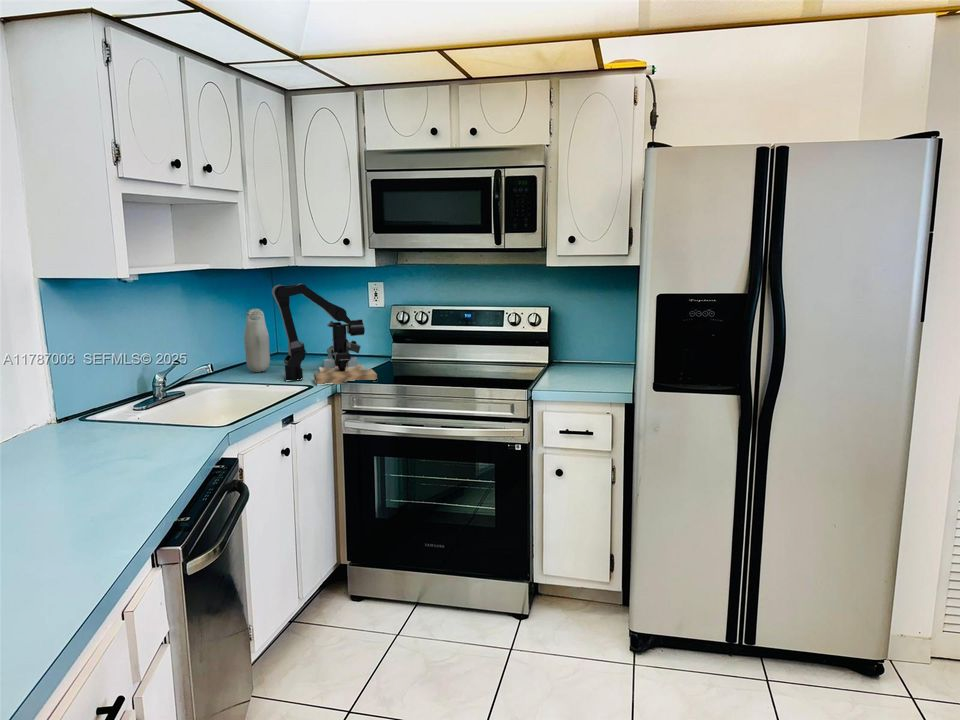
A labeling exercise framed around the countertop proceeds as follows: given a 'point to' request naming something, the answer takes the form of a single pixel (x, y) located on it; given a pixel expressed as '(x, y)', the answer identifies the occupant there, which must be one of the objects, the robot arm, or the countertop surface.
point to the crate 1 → (329, 363)
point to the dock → (344, 376)
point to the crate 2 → (352, 362)
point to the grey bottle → (256, 341)
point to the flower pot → (330, 353)
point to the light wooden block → (336, 369)
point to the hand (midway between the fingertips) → (341, 373)
